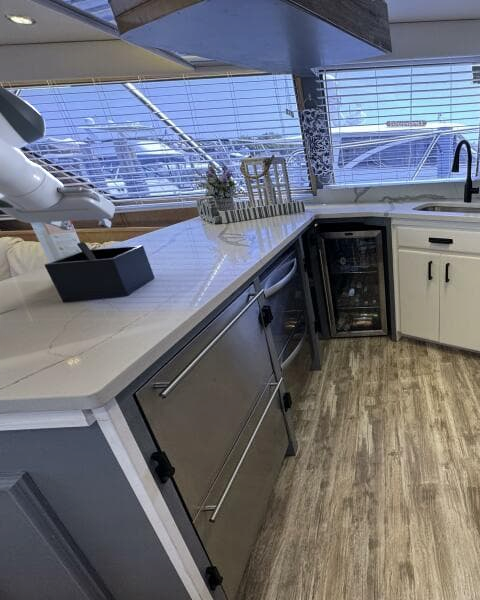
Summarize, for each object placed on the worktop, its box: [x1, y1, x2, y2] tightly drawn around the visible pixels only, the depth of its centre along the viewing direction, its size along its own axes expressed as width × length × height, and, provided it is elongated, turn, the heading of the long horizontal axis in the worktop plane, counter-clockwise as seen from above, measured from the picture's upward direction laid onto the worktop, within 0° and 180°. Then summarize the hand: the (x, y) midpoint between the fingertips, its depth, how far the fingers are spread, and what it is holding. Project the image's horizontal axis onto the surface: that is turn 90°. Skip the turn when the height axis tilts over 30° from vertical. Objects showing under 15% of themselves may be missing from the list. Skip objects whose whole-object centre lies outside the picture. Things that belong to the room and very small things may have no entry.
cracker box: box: [30, 221, 81, 263], centre depth 92 cm, size 14×6×21 cm, turn 58°
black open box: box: [44, 245, 156, 304], centre depth 87 cm, size 15×15×10 cm
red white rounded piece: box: [77, 241, 97, 260], centre depth 86 cm, size 10×6×12 cm, turn 41°
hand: (88, 226), depth 83 cm, fingers open, 8 cm apart
